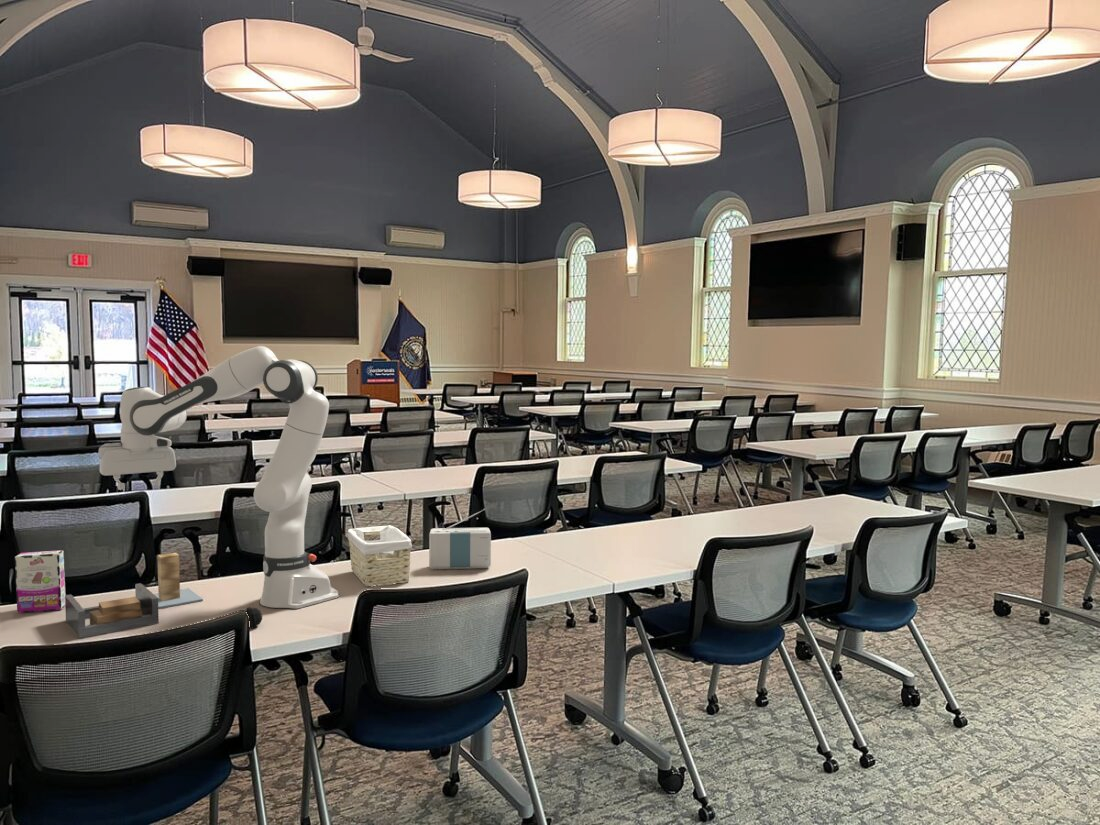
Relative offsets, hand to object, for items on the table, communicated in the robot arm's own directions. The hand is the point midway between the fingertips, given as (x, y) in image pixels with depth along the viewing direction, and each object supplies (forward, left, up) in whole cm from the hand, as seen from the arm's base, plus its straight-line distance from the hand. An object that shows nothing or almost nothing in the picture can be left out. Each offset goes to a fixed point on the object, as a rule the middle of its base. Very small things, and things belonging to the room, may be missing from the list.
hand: (139, 487), depth 240 cm
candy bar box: (+25, -5, -33) cm, 42 cm away
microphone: (-9, +45, -34) cm, 57 cm away
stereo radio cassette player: (-94, +30, -33) cm, 104 cm away
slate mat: (-6, +8, -33) cm, 35 cm away
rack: (+12, +19, -33) cm, 40 cm away
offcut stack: (+11, +21, -33) cm, 41 cm away
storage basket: (-66, +24, -34) cm, 78 cm away
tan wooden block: (-6, +8, -32) cm, 34 cm away
